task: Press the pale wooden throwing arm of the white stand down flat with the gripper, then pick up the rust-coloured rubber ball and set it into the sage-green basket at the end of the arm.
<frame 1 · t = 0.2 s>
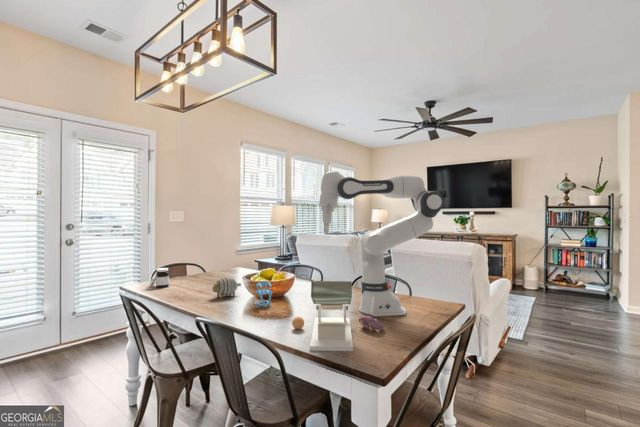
hand: (325, 232, 162), 39 cm above the table, tool pointing down, fingers open, 8 cm apart
throwing arm: (331, 297, 132), point 14 cm above the table, hinge at 25.0°
white stand: (332, 323, 143), on the table
toy sheep: (227, 297, 190), on the table
ball: (298, 323, 137), point 2 cm above the table
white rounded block: (159, 286, 216), on the table
light blue lumpy piece: (264, 305, 173), on the table
purple grapes: (371, 330, 136), on the table
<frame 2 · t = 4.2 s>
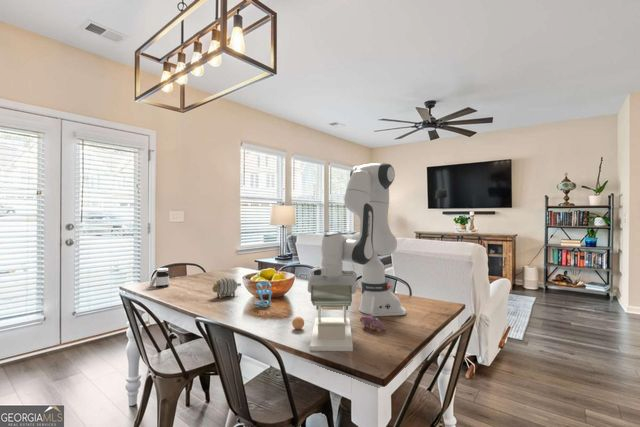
hand: (331, 303, 138), 10 cm above the table, tool pointing down, fingers closed, pressing on throwing arm
throwing arm: (331, 298, 132), point 14 cm above the table, hinge at 21.9°, touching gripper
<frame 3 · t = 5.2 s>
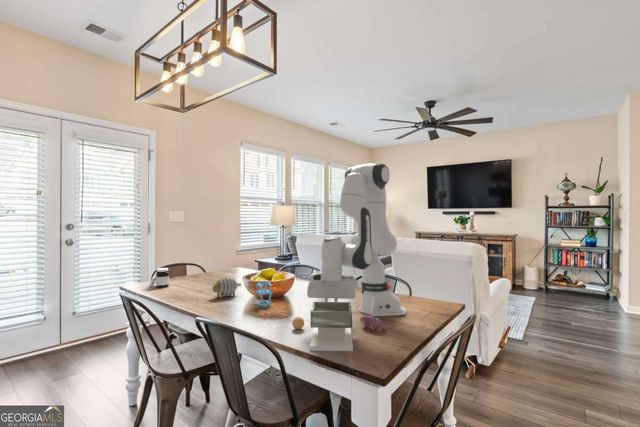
hand: (331, 308, 138), 8 cm above the table, tool pointing down, fingers closed, pressing on throwing arm
throwing arm: (331, 309, 130), point 10 cm above the table, hinge at 3.0°, touching gripper
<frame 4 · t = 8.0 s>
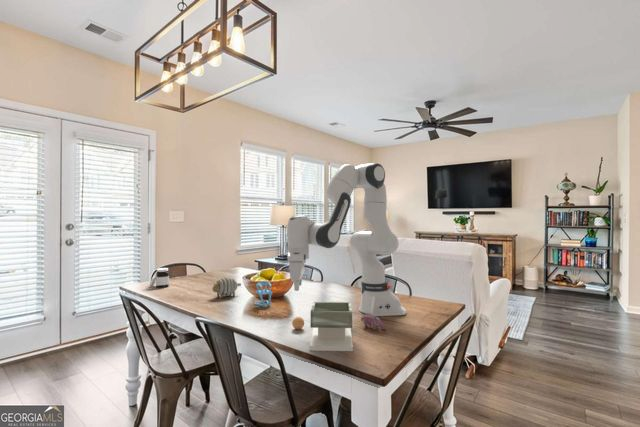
hand: (298, 287, 137), 17 cm above the table, tool pointing down, fingers open, 8 cm apart
throwing arm: (331, 309, 130), point 10 cm above the table, hinge at 2.9°
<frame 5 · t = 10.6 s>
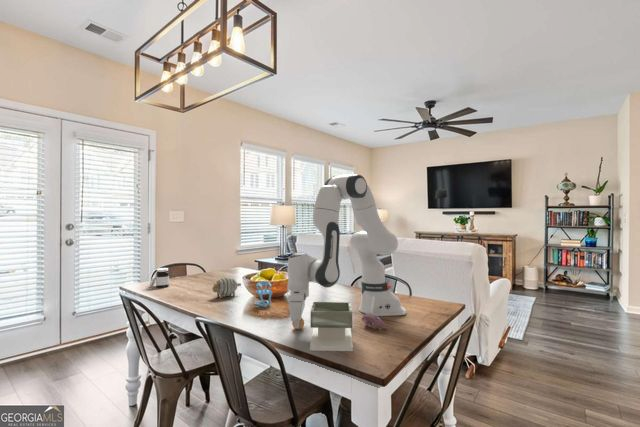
hand: (298, 325, 137), 2 cm above the table, tool pointing down, fingers closed on ball, 5 cm apart
ball: (298, 323, 137), point 2 cm above the table, touching gripper
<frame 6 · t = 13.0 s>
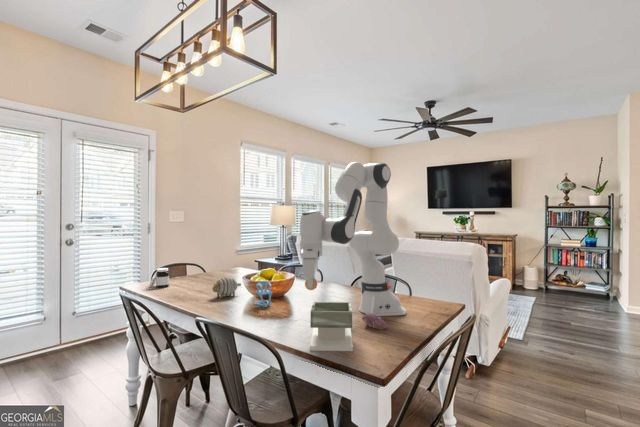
hand: (311, 286, 131), 19 cm above the table, tool pointing down, fingers closed on ball, 5 cm apart
ball: (311, 283, 131), point 20 cm above the table, touching gripper
when the fingers open (12 cm above the table, at t = 15.5 s): ball drops 2 cm and tips over, resting on throwing arm.
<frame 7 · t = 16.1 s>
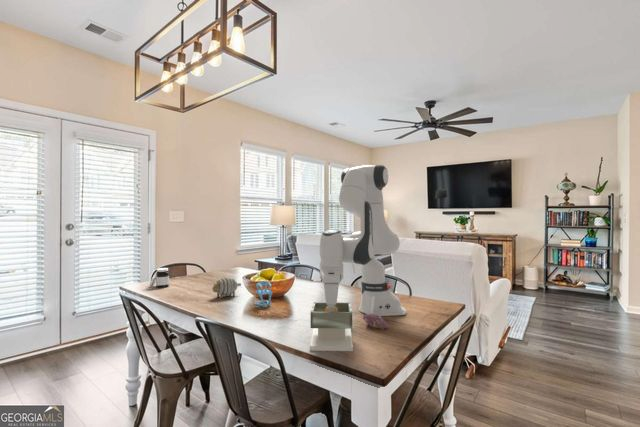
hand: (331, 310, 123), 12 cm above the table, tool pointing down, fingers open, 8 cm apart
throwing arm: (331, 310, 130), point 10 cm above the table, hinge at 2.5°, touching ball
ball: (331, 311, 125), point 11 cm above the table, tilted 38°, touching gripper, throwing arm
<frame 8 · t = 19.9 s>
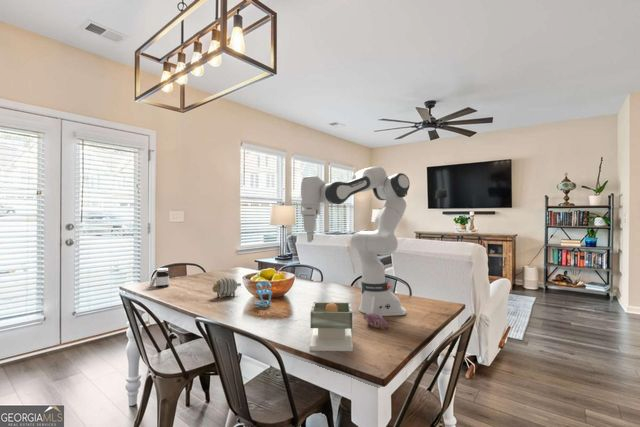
hand: (310, 241, 151), 35 cm above the table, tool pointing down, fingers open, 8 cm apart
ball: (331, 309, 128), point 11 cm above the table, tilted 106°, touching throwing arm
at the end: throwing arm at +2° (first picture: +25°); ball inside the target area on the white stand (4.6 cm from its centre), point 10.7 cm above the white stand's base; the gripper is holding nothing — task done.
